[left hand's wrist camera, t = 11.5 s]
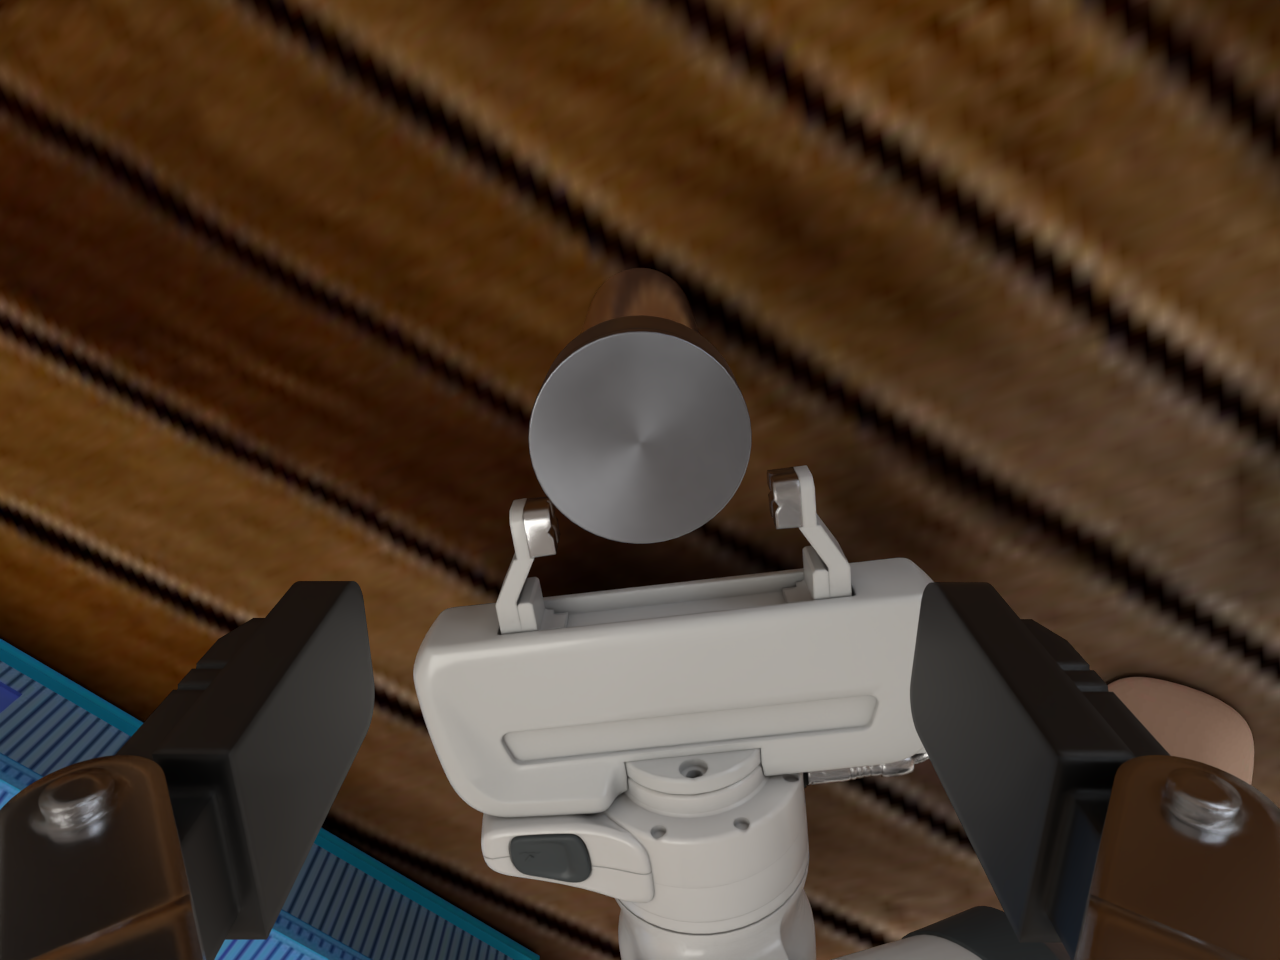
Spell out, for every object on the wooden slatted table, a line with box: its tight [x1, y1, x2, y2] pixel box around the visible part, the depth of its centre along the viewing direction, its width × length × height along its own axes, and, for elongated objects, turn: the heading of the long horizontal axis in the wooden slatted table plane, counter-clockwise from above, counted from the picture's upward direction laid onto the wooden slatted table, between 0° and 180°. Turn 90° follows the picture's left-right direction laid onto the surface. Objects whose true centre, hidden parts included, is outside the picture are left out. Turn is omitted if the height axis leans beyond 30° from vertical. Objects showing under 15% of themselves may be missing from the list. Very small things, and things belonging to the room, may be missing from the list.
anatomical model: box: [1107, 677, 1254, 785], centre depth 41 cm, size 13×4×12 cm
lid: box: [528, 315, 751, 544], centre depth 20 cm, size 5×5×2 cm
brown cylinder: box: [580, 268, 700, 334], centre depth 27 cm, size 4×4×16 cm
